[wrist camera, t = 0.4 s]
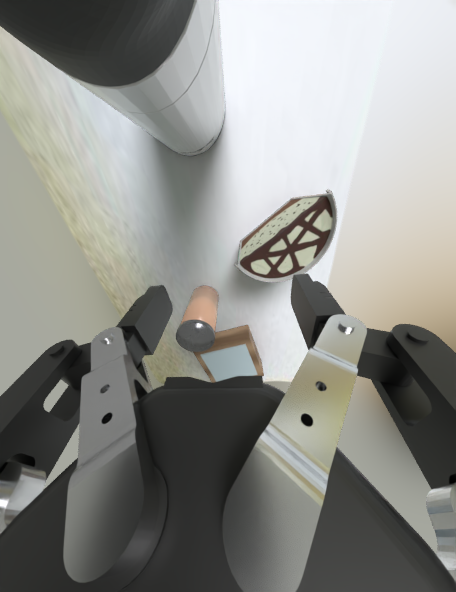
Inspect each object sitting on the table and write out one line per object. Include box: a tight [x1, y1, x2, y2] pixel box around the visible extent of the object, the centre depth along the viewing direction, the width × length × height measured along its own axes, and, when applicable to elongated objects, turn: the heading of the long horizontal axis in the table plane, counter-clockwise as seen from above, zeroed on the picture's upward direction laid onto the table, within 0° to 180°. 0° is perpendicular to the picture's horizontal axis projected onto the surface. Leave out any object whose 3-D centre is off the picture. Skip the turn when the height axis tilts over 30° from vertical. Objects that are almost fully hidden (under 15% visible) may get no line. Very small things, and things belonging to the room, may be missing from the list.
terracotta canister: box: [176, 286, 219, 352], centre depth 29 cm, size 5×5×11 cm
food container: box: [234, 189, 337, 282], centre depth 24 cm, size 12×6×10 cm, turn 130°
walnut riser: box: [193, 325, 264, 383], centre depth 39 cm, size 12×12×4 cm
